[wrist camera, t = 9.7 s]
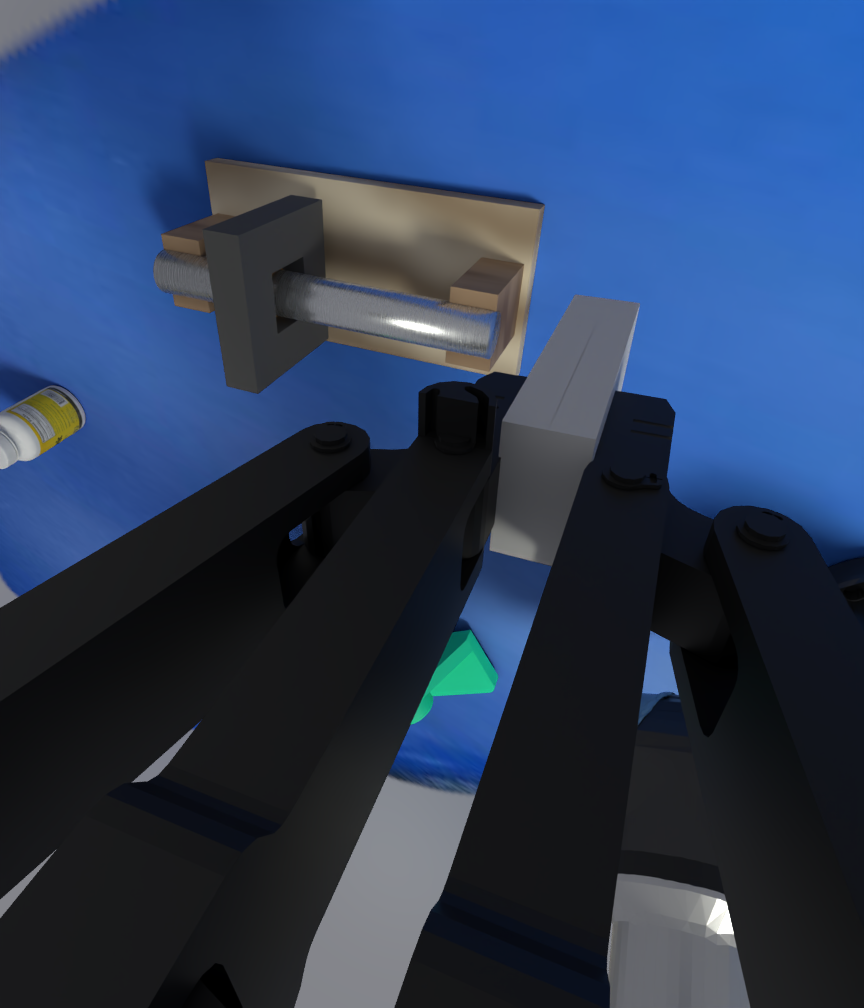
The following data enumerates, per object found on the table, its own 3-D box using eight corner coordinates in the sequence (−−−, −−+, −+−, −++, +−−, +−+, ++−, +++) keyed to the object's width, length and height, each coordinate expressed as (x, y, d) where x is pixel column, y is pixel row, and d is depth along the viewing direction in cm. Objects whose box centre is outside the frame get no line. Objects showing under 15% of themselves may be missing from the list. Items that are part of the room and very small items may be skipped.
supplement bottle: (63, 430, 73) (-12, 475, 66) (37, 386, 70) (-45, 428, 63) (96, 427, 71) (22, 474, 63) (70, 382, 68) (-10, 425, 61)
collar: (328, 338, 50) (258, 393, 42) (301, 332, 51) (226, 386, 43) (322, 199, 44) (238, 235, 36) (291, 194, 44) (202, 229, 37)
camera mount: (415, 680, 77) (380, 754, 69) (384, 634, 74) (344, 705, 66) (503, 673, 70) (476, 753, 63) (473, 622, 67) (441, 700, 60)
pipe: (497, 349, 42) (483, 370, 40) (187, 287, 48) (157, 301, 45) (503, 300, 40) (489, 318, 37) (178, 241, 46) (147, 253, 43)
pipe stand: (519, 372, 49) (490, 420, 43) (238, 313, 55) (178, 349, 49) (544, 204, 42) (514, 234, 36) (216, 158, 48) (143, 177, 42)
